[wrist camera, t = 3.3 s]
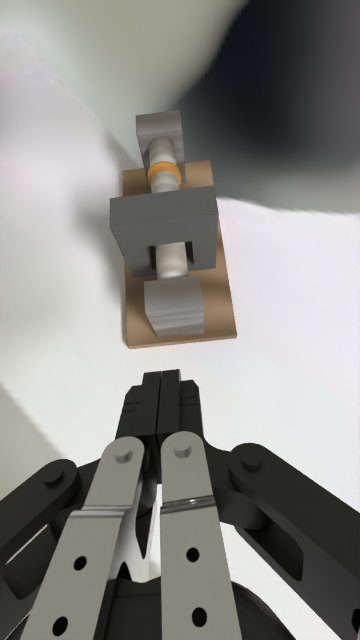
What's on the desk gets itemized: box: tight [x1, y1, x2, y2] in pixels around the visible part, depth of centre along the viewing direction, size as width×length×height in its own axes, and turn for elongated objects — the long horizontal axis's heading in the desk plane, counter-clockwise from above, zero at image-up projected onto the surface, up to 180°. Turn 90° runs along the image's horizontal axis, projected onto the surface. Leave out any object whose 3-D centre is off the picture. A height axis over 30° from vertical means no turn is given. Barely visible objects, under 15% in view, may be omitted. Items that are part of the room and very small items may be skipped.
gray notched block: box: [110, 185, 218, 278], centre depth 30 cm, size 3×9×9 cm, turn 95°
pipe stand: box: [123, 110, 237, 349], centre depth 35 cm, size 25×12×9 cm, turn 5°
